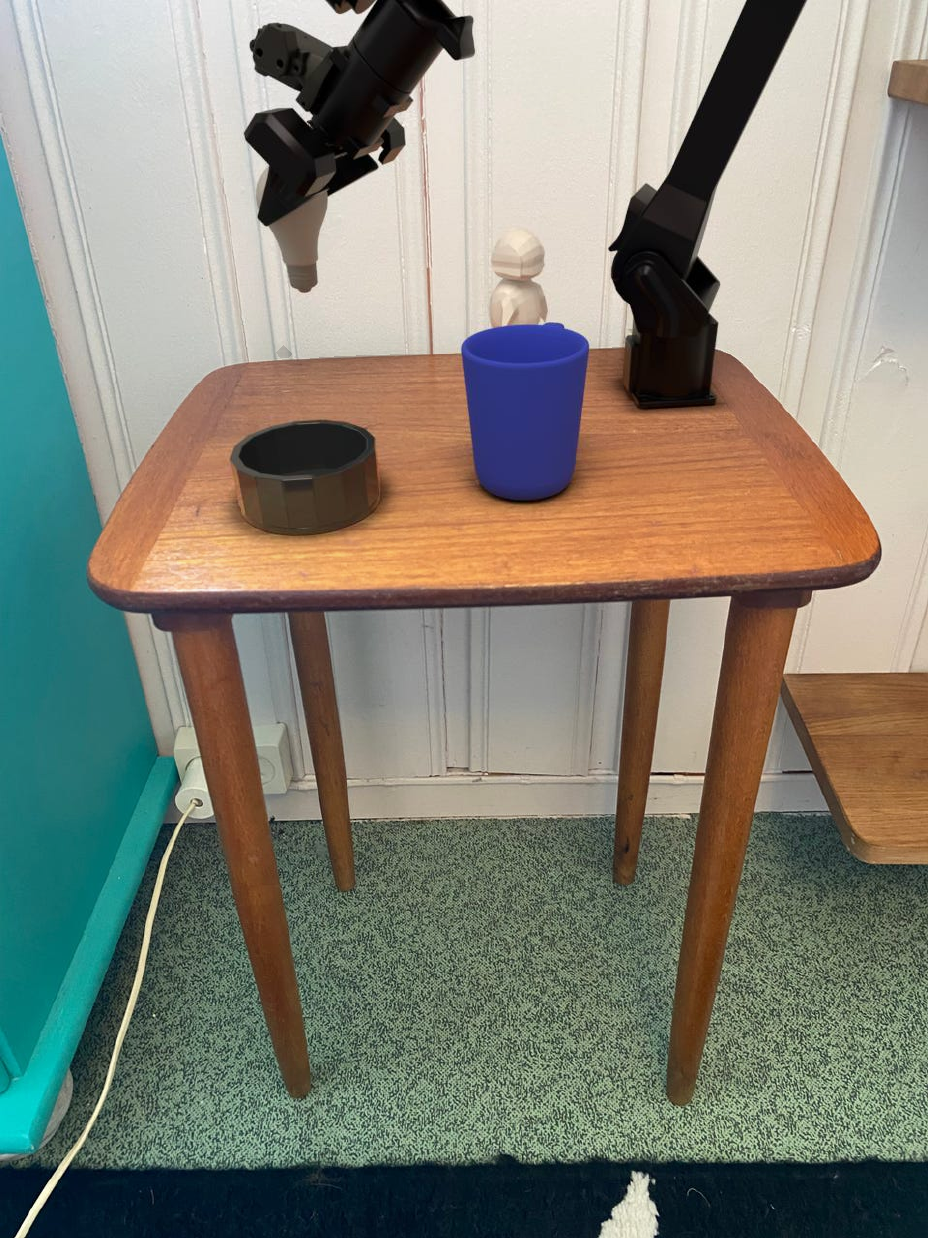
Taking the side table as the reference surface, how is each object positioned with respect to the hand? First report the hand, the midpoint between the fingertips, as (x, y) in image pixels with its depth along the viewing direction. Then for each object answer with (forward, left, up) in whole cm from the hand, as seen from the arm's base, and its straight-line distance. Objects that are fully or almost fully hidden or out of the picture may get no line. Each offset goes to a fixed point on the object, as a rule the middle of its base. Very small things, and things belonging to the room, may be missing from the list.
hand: (280, 214), depth 80 cm
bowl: (-3, +30, -13) cm, 33 cm away
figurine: (-20, +5, -13) cm, 25 cm away
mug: (-19, +27, -13) cm, 36 cm away
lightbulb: (-1, +1, -7) cm, 7 cm away
